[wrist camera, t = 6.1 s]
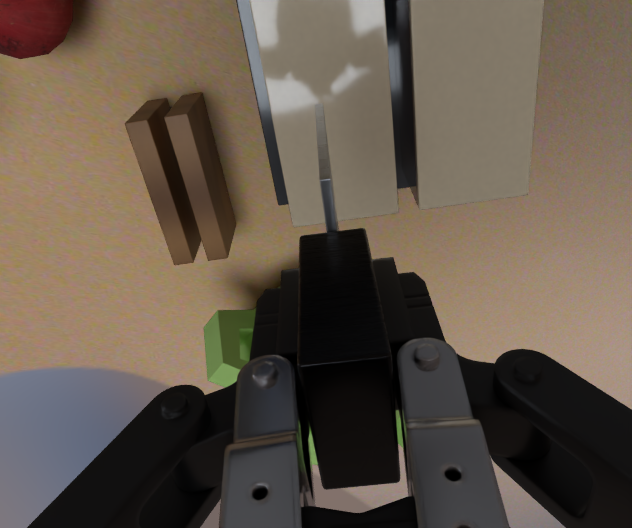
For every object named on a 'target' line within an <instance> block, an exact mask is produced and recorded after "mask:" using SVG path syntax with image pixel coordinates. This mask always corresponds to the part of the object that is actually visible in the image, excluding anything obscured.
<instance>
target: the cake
mask: <svg viewBox="0 0 632 528" xmlns="http://www.w3.org/2000/svg"><path fill="white" fill-rule="evenodd" d="M236 2H237V7H238V12H239V17H240V21H241V26H242V31H243V36H244V41H245V46H246V51H247V55H248V60H249V65H250V70H251V75H252V80H253V85H254V89H255V94H256V99H257V104H258V109H259V114H260V119H261V123H262V128H263V133H264V138H265V143H266V148H267V153H268V157H269V162H270V167H271V172H272V177H273V182H274V187H275V191H276V196H277V201H278V205H286V204H289V208H290V214H291V219H292V224H293V227H300V226H307V225H314V224H322V223H325V216H324V209H323V202H322V195H321V187H320V180H319V163H318V146H317V130H316V113H315V104H321V103H323V107H324V115H325V123H326V131H327V139H328V148H329V156H330V164H331V172H332V180H333V188H334V196H335V204H336V212H337V220H338V221H343V220H351V219H358V218H365V217H372V216H380V215H387V214H394V213H398V212H399V208H398V193H397V189H399V188H406V187H410V189H411V192H412V194H413V196H414V199H415V201H416V203H417V205H418V208H419V210H423V209H430V208H437V207H445V206H452V205H459V204H466V203H474V202H481V201H488V200H495V199H503V198H510V197H517V196H524V195H528V190H529V178H530V166H531V154H532V142H533V130H534V118H535V106H536V94H537V82H538V70H539V58H540V46H541V33H542V21H543V9H544V0H236Z"/></svg>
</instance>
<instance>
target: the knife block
mask: <svg viewBox="0 0 632 528" xmlns="http://www.w3.org/2000/svg"><path fill="white" fill-rule="evenodd" d="M125 126H126V129H127V132H128V135H129V137H130V140H131V143H132V146H133V149H134V152H135V155H136V157H137V160H138V163H139V166H140V169H141V172H142V174H143V177H144V180H145V183H146V186H147V189H148V192H149V194H150V197H151V200H152V203H153V206H154V209H155V211H156V214H157V217H158V220H159V223H160V226H161V229H162V231H163V234H164V237H165V240H166V243H167V246H168V249H169V251H170V254H171V257H172V260H173V263H174V265H179V264H187V263H193V262H194V260H195V257H196V254H197V251H198V248H199V246H200V243H201V240H202V242H203V246H204V249H205V252H206V255H207V259H208V261H210V260H217V259H225V258H228V255H229V251H230V247H231V243H232V239H233V235H234V231H235V227H236V221H235V218H234V214H233V210H232V206H231V202H230V198H229V194H228V191H227V187H226V183H225V179H224V175H223V171H222V168H221V164H220V160H219V156H218V152H217V148H216V145H215V141H214V137H213V133H212V129H211V125H210V122H209V118H208V114H207V110H206V106H205V102H204V99H203V95H202V93H195V94H189V95H182V96H181V97H180V99H179V100H178V101H177V102H176V103H175V105H174V106H173V107H172V108H171V110H170V107H169V104H168V101H167V98H164V99H157V100H151V101H147V102H146V103H145V104H144V105H143V106H142V107H141V108H140V109H139V110H138V111H137V112H136V113H135V114H134V115H133V116H132V117H131V118H130V119H129V120H128V121H127V122H126V123H125Z"/></svg>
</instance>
